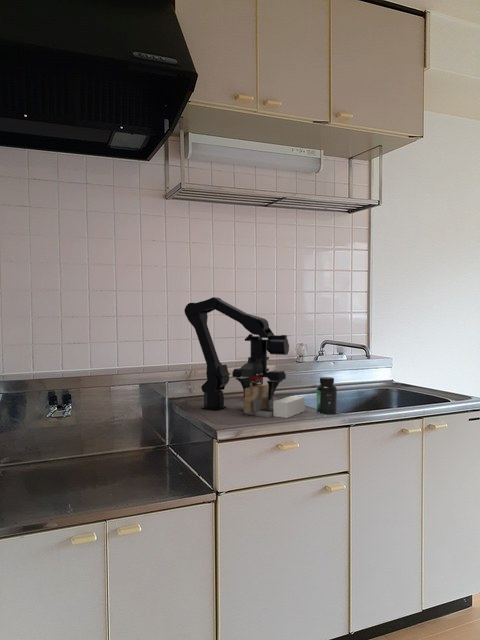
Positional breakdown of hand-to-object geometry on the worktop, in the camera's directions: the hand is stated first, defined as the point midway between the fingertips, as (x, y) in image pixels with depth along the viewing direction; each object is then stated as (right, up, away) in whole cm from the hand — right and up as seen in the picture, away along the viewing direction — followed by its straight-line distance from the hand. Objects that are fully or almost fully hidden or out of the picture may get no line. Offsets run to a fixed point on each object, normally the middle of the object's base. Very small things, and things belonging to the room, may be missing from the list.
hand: (258, 398), depth 173 cm
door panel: (0, -4, 0) cm, 4 cm away
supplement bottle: (+24, -5, -1) cm, 24 cm away
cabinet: (+5, -5, -1) cm, 7 cm away
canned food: (-1, -4, +23) cm, 24 cm away
